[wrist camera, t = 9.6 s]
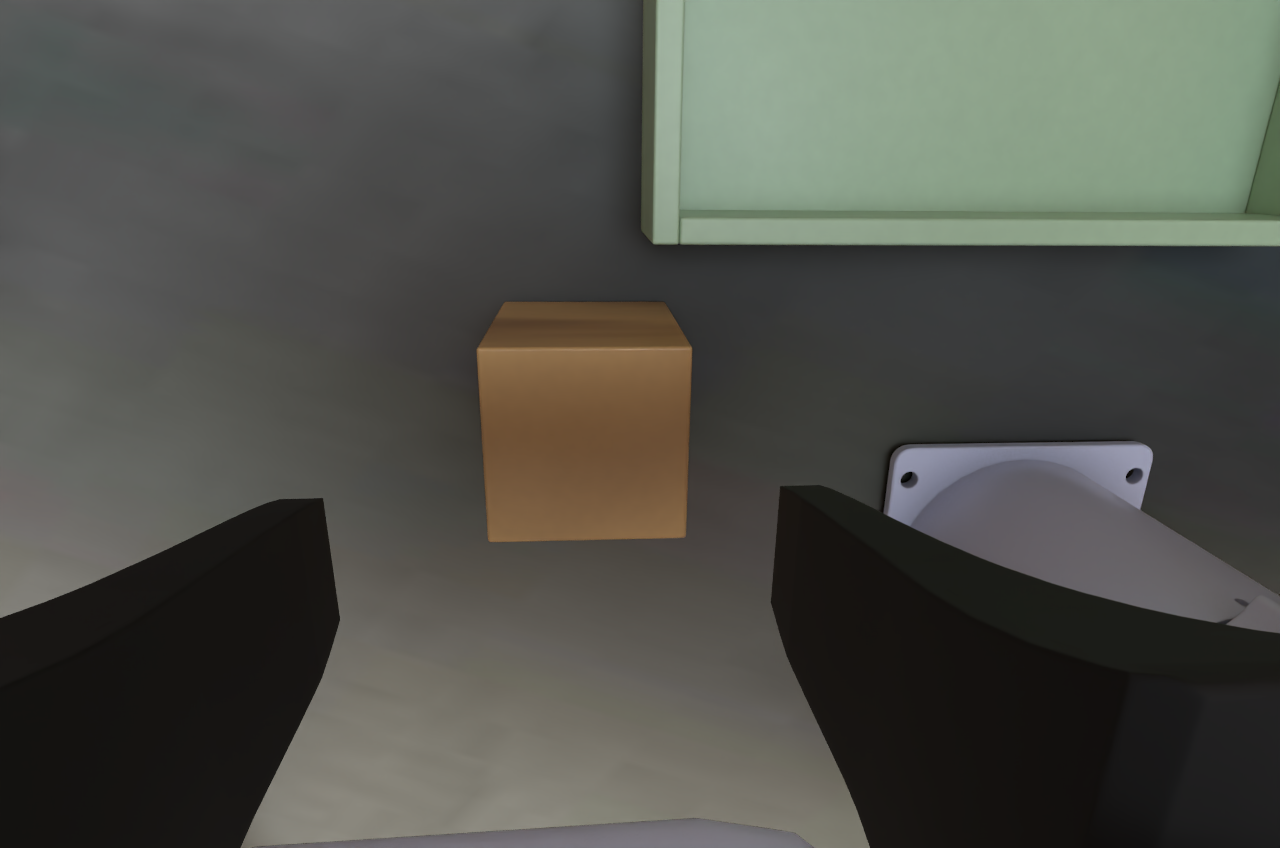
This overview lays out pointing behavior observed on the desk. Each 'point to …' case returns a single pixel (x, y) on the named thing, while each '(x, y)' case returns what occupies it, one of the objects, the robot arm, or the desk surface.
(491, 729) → the desk surface
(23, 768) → the robot arm
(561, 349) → the block
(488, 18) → the desk surface
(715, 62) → the tray
